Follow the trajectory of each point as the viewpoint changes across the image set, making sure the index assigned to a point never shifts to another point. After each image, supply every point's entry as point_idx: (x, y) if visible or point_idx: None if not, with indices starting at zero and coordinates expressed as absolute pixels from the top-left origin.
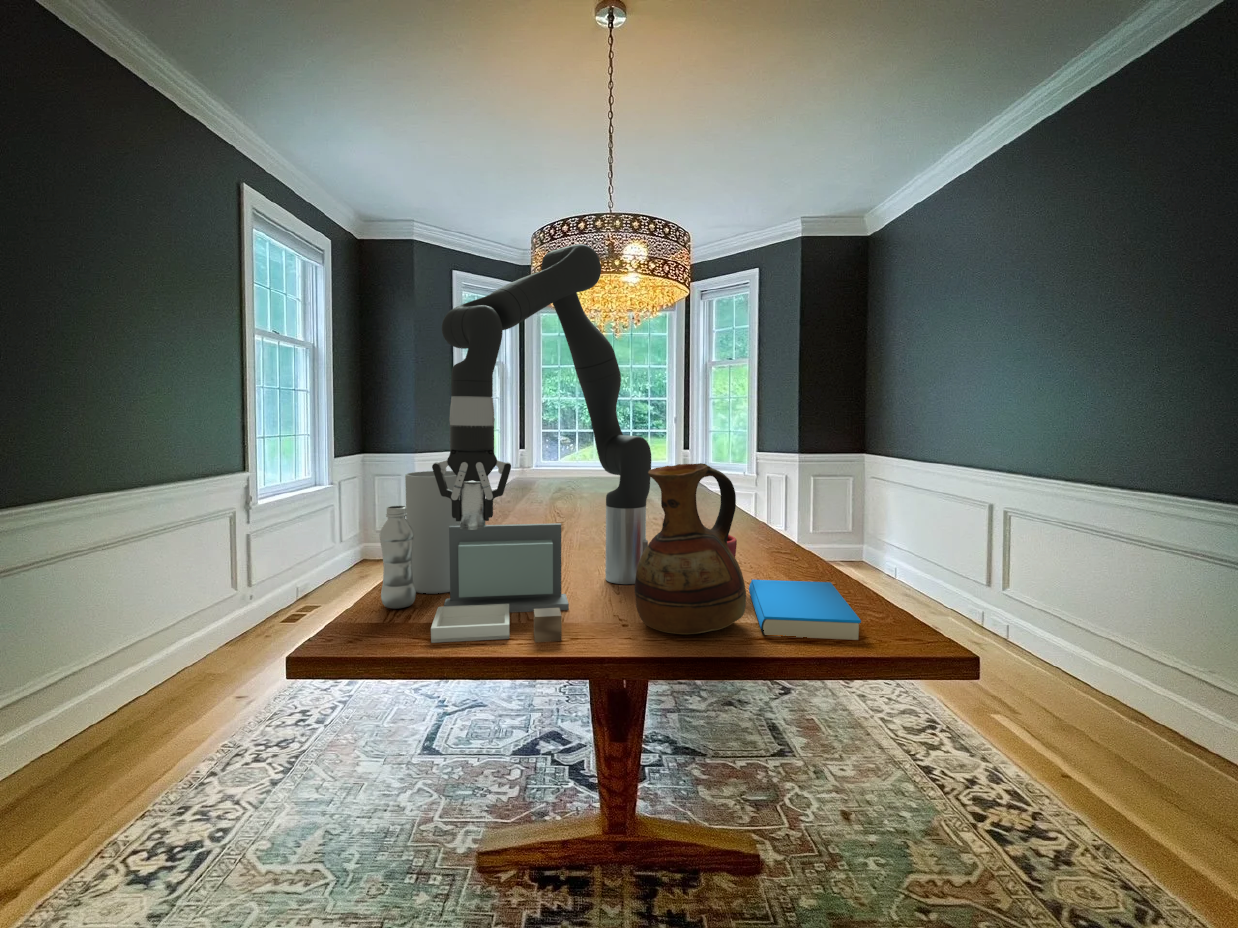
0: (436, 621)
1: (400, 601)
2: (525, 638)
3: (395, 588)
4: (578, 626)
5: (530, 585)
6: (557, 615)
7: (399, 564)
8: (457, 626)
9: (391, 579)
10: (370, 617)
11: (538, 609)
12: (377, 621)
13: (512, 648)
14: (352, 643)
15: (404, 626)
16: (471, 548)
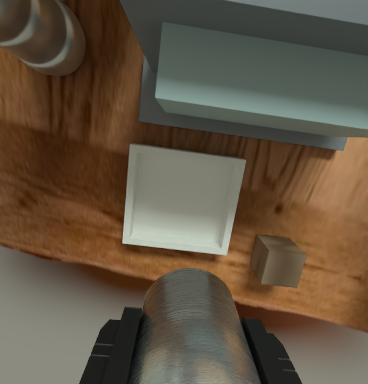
0: (129, 217)
1: (60, 74)
2: (242, 248)
3: (35, 65)
4: (319, 225)
5: (301, 130)
6: (292, 285)
7: (7, 42)
8: (157, 245)
9: (13, 54)
10: (24, 97)
11: (275, 254)
12: (40, 123)
13: (220, 274)
14: (27, 210)
15: (85, 159)
16: (194, 104)
